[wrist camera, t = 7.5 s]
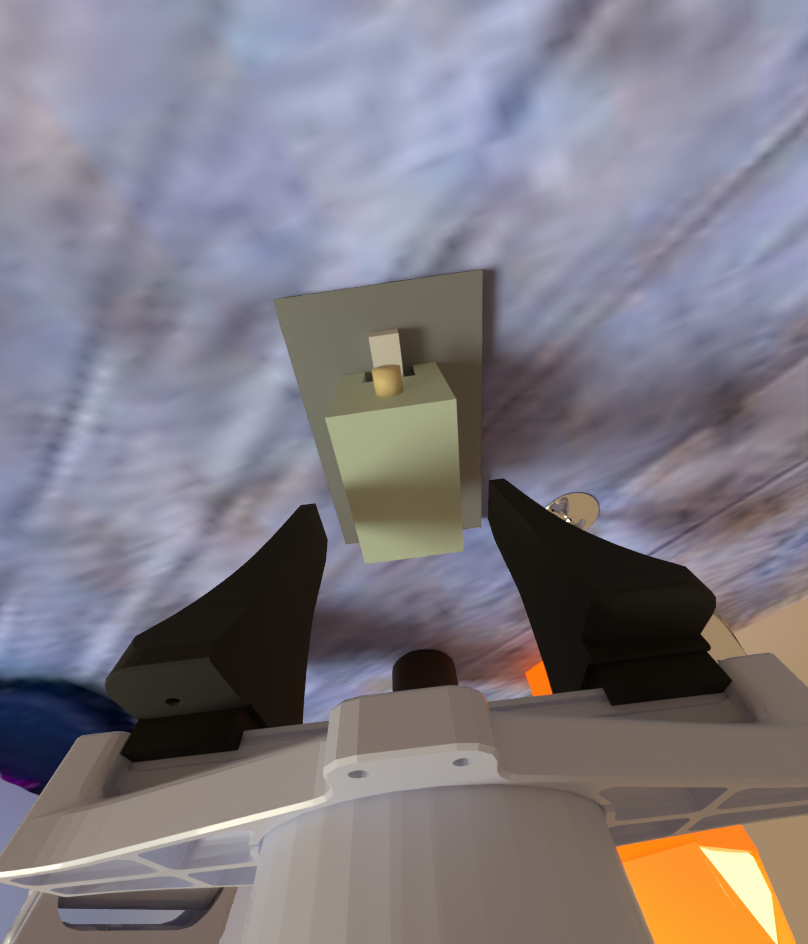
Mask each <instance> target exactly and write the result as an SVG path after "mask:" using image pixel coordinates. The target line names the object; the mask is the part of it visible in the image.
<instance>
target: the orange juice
mask: <svg viewBox="0 0 808 944" xmlns="http://www.w3.org/2000/svg"><path fill="white" fill-rule="evenodd" d="M525 674H526V677H527V679H528V682H529V685H530V688H531V691H532V694H533V696H540V695H549V694H552V690H551V687H550V684H549V680H548V677H547V673H546V670H545V667H544V664H543V661H541V662H540V663H539V664H537V665H536V666H534V667H533V668H531V669H530V670H529V671H527V672H526V673H525ZM616 848H617V850H618V853H619V855H620V858H621V860H622V863H623V865H624V868H625V870H626V873H627V875H628V877H629V880H630V882H631V885H632V887H633V890H634V892H635V895H636V897H637V900H638V902H639V904H640V907H641V909H642V912H643V914H644V917H645V919H646V922H647V924H648V927H649V929H650V932H651V934H652V936H653V939H654V941H655V944H796V943H795V940H794V938H793V935H792V933H791V931H790V928H789V926H788V924H787V921H786V919H785V916H784V914H783V912H782V909H781V907H780V905H779V902H778V900H777V897H776V895H775V893H774V890H773V888H772V886H771V883H770V881H769V879H768V876H767V874H766V872H765V869H764V867H763V864H762V862H761V860H760V857H759V855H758V850H757V849H756V847H755V846H754V844H753V842H752V841H751V840H750V838H749V836H748V835H747V833H746V832H745V830H744V829H743V827H742V825H736V826H730V827H724V828H718V829H712V830H707V831H701V832H696V833H690V834H685V835H679V836H674V837H668V838H663V839H657V840H652V841H646V842H641V843H635V844H630V845H624V846H619V847H616Z"/></svg>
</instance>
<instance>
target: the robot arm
mask: <svg viewBox="0 0 808 944" xmlns="http://www.w3.org/2000/svg"><path fill="white" fill-rule="evenodd" d="M488 520H489V523H490V527H491V530H492V533H493V536H494V539H495V541H496V544H497V546H498V548H499V550H500V552H501V554H502V556H503V559H504V561H505V563H506V565H507V567H508V569H509V571H510V573H511V575H512V577H513V579H514V582H515V584H516V586H517V588H518V591H519V593H520V595H521V598H522V601H523V604H524V606H525V609H526V612H527V615H528V618H529V621H530V624H531V627H532V630H533V633H534V636H535V639H536V642H537V645H538V648H539V651H540V654H541V657H542V661H543V664H544V667H545V670H546V673H547V677H548V680H549V684H550V687H551V690H552V694H549V695H540V696H532V697H524V698H515V699H507V700H499V701H490V702H487V700H486V698H485V697H484V695H483V693H481V692H480V691H478V690H476V689H473V688H470V687H468V686H456V685H446V686H438V687H430V688H421V689H413V690H405V691H397V692H388V693H380V694H372V695H363V696H358V697H354V698H351V699H347V700H344V701H343V702H341V703H340V704H339V705H337V706H336V707H335V708H334V709H333V710H331V711H330V717H329V721H323V722H315V723H306V724H303V708H304V694H305V682H306V670H307V660H308V651H309V642H310V634H311V626H312V620H313V614H314V609H315V605H316V601H317V597H318V593H319V588H320V584H321V580H322V576H323V571H324V567H325V562H326V553H327V541H328V540H327V537H326V534H325V531H324V528H323V525H322V522H321V519H320V516H319V513H318V510H317V507H316V504H315V503H314V504H307V505H301V506H300V507H299V508H298V509H297V510H296V511H295V512H294V513H293V514H292V515H291V517H290V518H289V519H288V520H287V521H286V522H285V523H284V524H283V526H282V527H281V528H280V529H279V530H278V531H277V532H276V533H275V534H274V535H273V537H272V538H271V539H270V540H269V541H268V542H267V543H266V544H265V545H264V546H263V547H262V548H261V549H260V550H259V551H258V552H257V553H256V554H255V555H254V556H253V557H252V558H250V559H249V560H248V561H247V562H246V563H245V564H244V565H243V566H241V567H240V568H239V569H238V570H237V571H236V572H234V573H233V574H232V575H231V576H229V577H228V578H227V579H226V580H224V581H223V582H221V583H220V584H219V585H217V586H216V587H215V588H213V589H212V590H211V591H209V592H208V593H207V594H205V595H204V596H202V597H201V598H199V599H198V600H196V601H195V602H193V603H192V604H190V605H189V606H187V607H186V608H184V609H182V610H181V611H179V612H178V613H176V614H174V615H173V616H171V617H169V618H168V619H166V620H164V621H162V622H160V623H159V624H157V625H155V626H153V627H152V628H150V629H148V630H146V631H144V632H143V633H141V634H139V635H137V636H136V637H135V638H134V639H133V641H132V642H131V644H130V645H129V647H128V648H127V649H126V651H125V652H124V654H123V655H122V657H121V658H120V660H119V661H118V663H117V664H116V665H115V667H114V668H113V670H112V671H111V673H110V674H109V676H108V677H107V678H106V682H105V688H106V691H107V693H108V695H109V696H110V697H111V698H112V699H113V701H115V702H116V703H117V704H118V705H120V706H121V707H122V708H123V709H125V710H126V711H127V712H129V713H130V714H131V715H132V716H134V717H135V718H136V719H137V720H138V722H137V724H136V726H135V727H134V729H133V731H132V733H128V732H123V731H115V732H107V733H98V734H90V735H83V736H81V737H79V738H77V740H76V741H75V743H74V745H73V746H72V748H71V749H70V751H69V752H68V754H67V755H66V757H65V758H64V760H63V761H62V763H61V764H60V766H59V767H58V769H57V770H56V772H55V773H54V775H53V776H52V778H51V779H50V781H49V782H48V784H47V785H46V787H45V788H44V790H43V791H42V793H41V794H40V796H39V797H38V799H37V800H36V802H35V803H34V805H33V806H32V808H31V809H30V811H29V812H28V814H27V816H26V817H25V819H24V820H23V821H22V823H21V825H20V826H19V828H18V829H17V831H16V832H15V834H14V835H13V837H12V838H11V840H10V841H9V843H8V844H7V846H6V847H5V849H4V850H3V852H2V853H1V855H0V883H5V884H9V885H14V886H18V887H22V888H27V889H30V891H29V897H28V898H27V900H26V902H25V904H24V906H23V907H22V909H21V911H20V912H19V914H18V916H17V918H16V919H15V921H14V923H13V925H12V927H11V928H10V930H9V932H8V934H7V935H6V937H5V939H4V941H3V943H2V944H219V940H220V938H221V937H222V935H223V933H224V930H225V926H226V923H227V920H228V917H229V913H230V910H231V907H232V904H233V900H234V897H235V894H236V891H237V888H238V886H253V889H252V893H251V898H250V903H249V907H248V912H247V917H246V921H245V926H244V931H243V935H242V940H241V944H655V941H654V939H653V936H652V934H651V932H650V929H649V927H648V924H647V922H646V919H645V917H644V914H643V912H642V909H641V907H640V904H639V902H638V900H637V897H636V895H635V892H634V890H633V887H632V885H631V882H630V880H629V877H628V875H627V873H626V870H625V868H624V865H623V863H622V860H621V858H620V855H619V853H618V850H617V848H616V847H619V846H624V845H630V844H635V843H641V842H646V841H652V840H657V839H663V838H668V837H674V836H679V835H685V834H690V833H696V832H701V831H707V830H712V829H718V828H724V827H730V826H736V825H742V824H748V823H754V822H761V821H768V820H774V819H780V818H789V817H797V816H805V815H808V687H807V686H805V684H804V683H803V682H802V681H801V680H799V679H798V678H797V677H796V676H795V675H794V674H793V673H792V672H791V671H790V670H789V669H788V668H787V667H786V666H785V665H784V664H783V663H782V662H781V661H780V660H779V659H778V658H777V657H776V656H775V655H774V654H771V653H763V654H754V655H746V656H738V657H731V658H727V659H724V660H722V661H720V662H719V663H717V662H716V661H715V660H714V659H713V658H712V657H711V655H710V654H709V653H708V652H707V651H710V649H711V646H710V644H709V643H708V642H707V641H706V640H705V638H704V637H703V636H702V635H701V633H702V631H703V629H704V628H705V626H706V625H707V623H708V621H709V620H710V618H711V617H712V615H713V613H714V610H715V608H716V597H715V595H714V594H713V593H712V591H711V590H710V589H709V588H708V587H706V586H705V585H704V584H703V583H702V582H701V581H700V580H699V579H698V578H697V577H696V576H695V575H694V574H693V573H692V572H691V571H690V570H689V569H687V568H686V567H685V566H681V565H678V564H674V563H671V562H667V561H664V560H660V559H657V558H653V557H650V556H647V555H644V554H641V553H638V552H635V551H632V550H629V549H627V548H624V547H621V546H619V545H616V544H613V543H611V542H609V541H606V540H604V539H602V538H599V537H597V536H595V535H592V534H590V533H588V532H586V531H584V530H582V529H580V528H578V527H576V526H574V525H572V524H570V523H569V522H567V521H565V520H563V519H561V518H560V517H558V516H557V515H555V514H553V513H552V512H550V511H548V510H547V509H545V508H544V507H542V506H541V505H539V504H538V503H536V502H535V501H534V500H532V499H531V498H529V497H528V496H527V495H525V494H524V493H523V492H521V491H520V490H519V489H517V488H516V487H515V486H513V485H512V484H511V483H509V482H508V481H507V480H505V479H504V478H503V479H495V480H489V498H488ZM58 908H67V909H68V908H69V909H146V910H148V909H149V910H185V911H184V912H183V913H182V914H181V915H179V916H178V917H177V918H176V919H174V920H172V921H169V922H166V923H162V924H69V923H66V922H63V921H61V918H60V916H59V913H58Z"/></svg>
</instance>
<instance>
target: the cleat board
mask: <svg viewBox="0 0 808 944" xmlns="http://www.w3.org/2000/svg"><path fill="white" fill-rule="evenodd" d="M482 285H483V270H472V271H465V272H459V273H452V274H445V275H438V276H431V277H424V278H417V279H410V280H403V281H396V282H390V283H383V284H376V285H369V286H362V287H355V288H348V289H341V290H334V291H327V292H321V293H314V294H307V295H300V296H293V297H286V298H279V299H274V300H273V303H274V306H275V309H276V313H277V316H278V319H279V323H280V326H281V329H282V333H283V336H284V339H285V343H286V346H287V349H288V353H289V356H290V359H291V363H292V366H293V369H294V373H295V376H296V379H297V383H298V386H299V389H300V393H301V396H302V399H303V403H304V406H305V409H306V413H307V416H308V419H309V423H310V426H311V429H312V433H313V436H314V439H315V443H316V446H317V449H318V453H319V456H320V459H321V463H322V466H323V469H324V473H325V476H326V479H327V483H328V486H329V489H330V493H331V496H332V499H333V503H334V506H335V509H336V513H337V516H338V519H339V523H340V526H341V529H342V533H343V536H344V539H345V543H346V544H351V543H358V542H359V539H358V535H357V532H356V528H355V524H354V521H353V517H352V514H351V510H350V506H349V503H348V499H347V496H346V492H345V488H344V485H343V481H342V478H341V474H340V470H339V467H338V463H337V460H336V456H335V452H334V449H333V445H332V442H331V438H330V434H329V431H328V427H327V424H326V420H325V416H326V414H327V412H328V409H329V407H330V404H331V402H332V400H333V397H334V395H335V392H336V390H337V388H338V385H339V383H340V380H341V378H342V376H343V375H349V374H356V373H363V372H365V377H366V382H372V381H373V376H372V369H374V368H376V367H379V366H383V365H390V364H396V365H400V368H401V376H402V377H407V376H413V375H414V372H413V365H417V364H424V363H431V362H435V363H436V365H437V366H438V368H439V370H440V371H441V373H442V375H443V377H444V378H445V380H446V382H447V384H448V385H449V387H450V389H451V391H452V392H453V394H454V396H455V398H456V403H457V425H458V447H459V469H460V491H461V513H462V529H468V528H476V527H481V483H482Z"/></svg>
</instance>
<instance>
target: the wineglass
mask: <svg viewBox="0 0 808 944" xmlns="http://www.w3.org/2000/svg"><path fill="white" fill-rule="evenodd" d="M545 509H547V510H548V511H550V512H552V513H553V514H555V515H557V516H558V517H560V518H561V519H563V520H565V521H567V522H569V523H570V524H572V525H574V526H576V527H578V528H580V529H582V530H584V531H585V530H587V529H588V528H589V527H590V526H591V525H592V524H593V523H594V521H595V520H596V518H597V516H598V512H599V506H598V503H597V501H596V500H595V499H594V498H593V497H592V496H590V495H588V494H585V493H570V494H566V495H563V496H561V497H559V498H557V499H555V500H554V501H552V502H551V503H550V504H549V505H548V506H547V507H546V508H545ZM701 635H702V636H703V637H704V638H705V640H706V641H707V642H708V643H709V644H710V646H711V649H710V651H707V652H708V653H709V654H710V655H711V657H712V658H713V659H714V660H715V661H716V662H717V663H719V662H720V661H722V660H724V659H727V658H731V657H738V656H746V653H745V652H744V650H743V648H742V647H741V645H740V644H739V642H738V640H737V639H736V637H735V635H734V634H733V632H732V631H731V629H730V627H729V626H728V625H727V623H726V622H725V621H724V620H723V618H722V617H721V616H720V614H719V613H718V612H717V610H716V609H715V610H714V613H713V615H712V617H711V618H710V620H709V621H708V623H707V625H706V626H705V628H704V629H703V631H702V633H701Z"/></svg>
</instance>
